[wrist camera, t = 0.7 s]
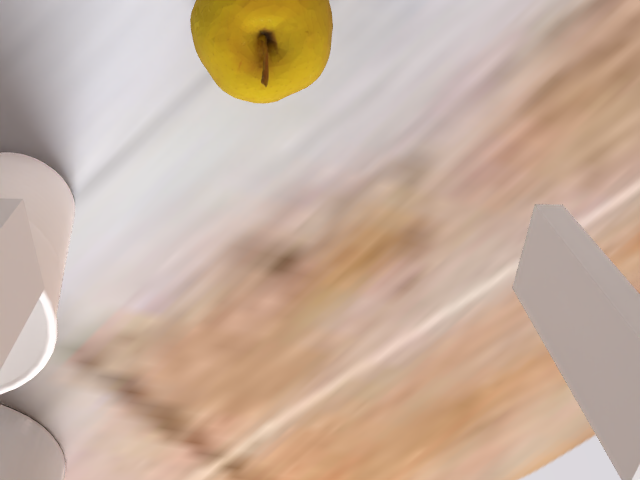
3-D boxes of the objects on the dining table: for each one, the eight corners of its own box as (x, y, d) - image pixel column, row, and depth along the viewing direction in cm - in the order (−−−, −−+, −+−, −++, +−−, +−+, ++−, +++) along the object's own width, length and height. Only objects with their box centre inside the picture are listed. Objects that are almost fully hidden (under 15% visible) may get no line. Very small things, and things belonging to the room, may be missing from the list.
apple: (256, 97, 33) (254, 156, 26) (172, -1, 30) (146, 38, 23) (350, 22, 31) (375, 64, 24) (271, -90, 28) (274, -76, 21)
